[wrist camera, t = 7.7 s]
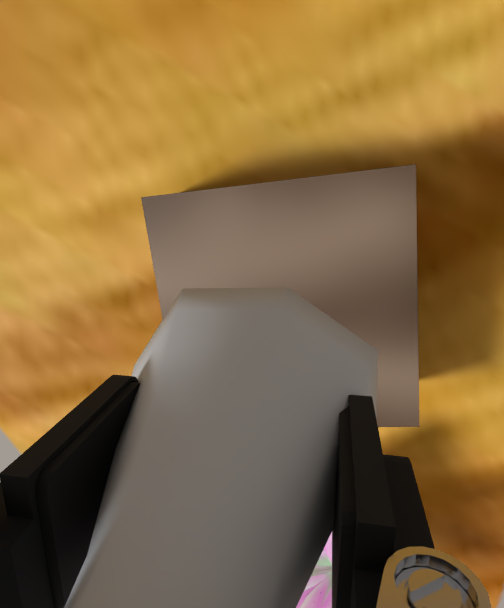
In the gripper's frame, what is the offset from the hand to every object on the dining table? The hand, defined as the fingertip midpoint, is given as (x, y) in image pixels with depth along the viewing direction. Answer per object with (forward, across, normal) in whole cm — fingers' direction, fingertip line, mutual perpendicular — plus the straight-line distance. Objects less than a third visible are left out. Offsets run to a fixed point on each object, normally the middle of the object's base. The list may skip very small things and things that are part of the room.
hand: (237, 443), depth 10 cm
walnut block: (+15, 0, 0) cm, 15 cm away
